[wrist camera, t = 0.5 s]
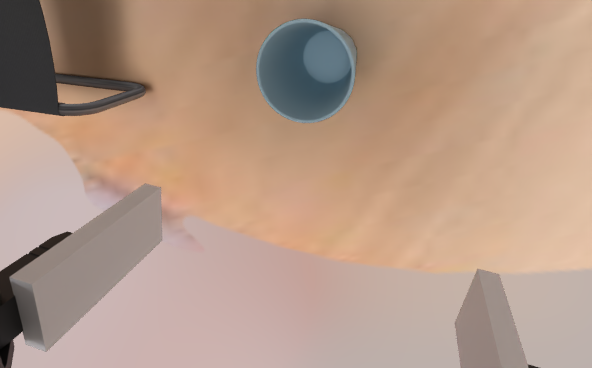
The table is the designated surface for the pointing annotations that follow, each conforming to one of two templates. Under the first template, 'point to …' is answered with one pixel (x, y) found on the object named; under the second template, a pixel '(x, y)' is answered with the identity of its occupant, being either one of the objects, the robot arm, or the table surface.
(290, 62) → the cup
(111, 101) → the chair
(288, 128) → the table surface
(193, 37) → the table surface
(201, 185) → the table surface
